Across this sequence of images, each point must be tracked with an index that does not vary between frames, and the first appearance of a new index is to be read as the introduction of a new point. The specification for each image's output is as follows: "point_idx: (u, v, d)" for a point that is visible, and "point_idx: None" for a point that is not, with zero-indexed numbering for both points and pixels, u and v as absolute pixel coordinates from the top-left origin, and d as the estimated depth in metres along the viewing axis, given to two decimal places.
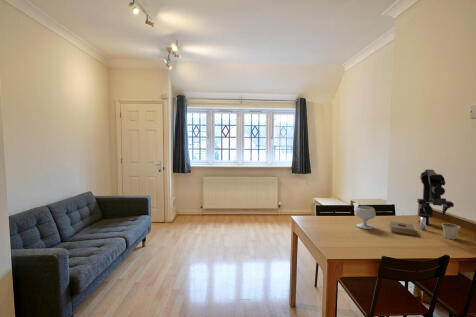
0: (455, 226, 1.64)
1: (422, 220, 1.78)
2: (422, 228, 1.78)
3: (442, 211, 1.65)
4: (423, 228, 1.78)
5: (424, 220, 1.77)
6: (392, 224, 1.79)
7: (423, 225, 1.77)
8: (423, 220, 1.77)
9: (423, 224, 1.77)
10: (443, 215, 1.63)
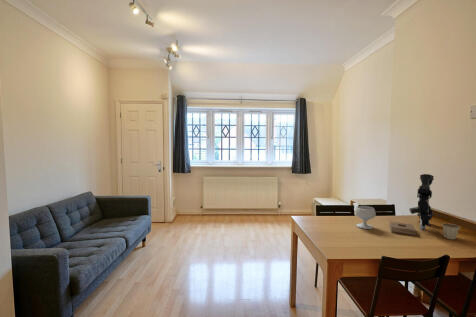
0: (455, 226, 1.64)
1: None
2: (422, 228, 1.78)
3: (425, 222, 1.77)
4: (423, 228, 1.78)
5: None
6: (392, 224, 1.79)
7: None
8: None
9: None
10: (422, 225, 1.77)
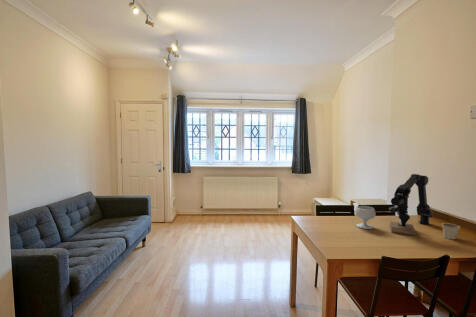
0: (455, 226, 1.64)
1: None
2: None
3: None
4: None
5: None
6: (392, 224, 1.79)
7: None
8: None
9: None
10: None
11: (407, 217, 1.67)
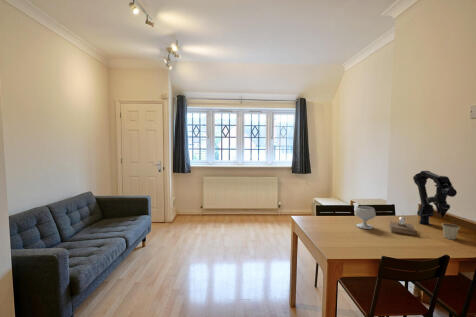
0: (455, 226, 1.64)
1: (401, 220, 1.75)
2: None
3: None
4: None
5: (403, 220, 1.75)
6: (392, 224, 1.79)
7: (402, 225, 1.75)
8: (402, 220, 1.75)
9: (402, 224, 1.75)
10: (441, 216, 1.70)
11: (447, 206, 1.65)
